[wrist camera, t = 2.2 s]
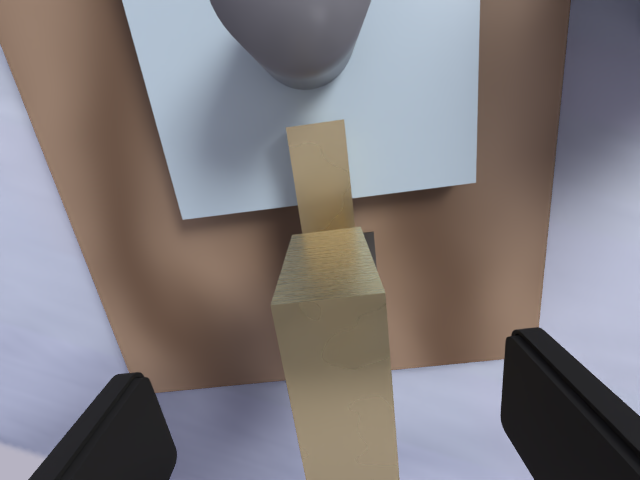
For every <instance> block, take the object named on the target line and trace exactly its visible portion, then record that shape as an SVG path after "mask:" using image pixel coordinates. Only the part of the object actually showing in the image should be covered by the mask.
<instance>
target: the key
mask: <svg viewBox="0 0 640 480" xmlns="http://www.w3.org/2000/svg"><path fill="white" fill-rule="evenodd" d="M286 132H287V139H288V145H289V152H290V158H291V165H292V171H293V177H294V184H295V190H296V197H297V203H298V209H299V216H300V222H301V229H302V234H296V235H292V237H291V240H290V243H289V247H288V250H287V253H286V256H285V260H284V263H283V266H282V269H281V273H280V276H279V279H278V282H277V286H276V289H275V292H274V296H273V299H272V302H271V305H270V306H271V311H272V315H273V320H274V325H275V330H276V335H277V340H278V345H279V350H280V355H281V359H282V364H283V369H284V374H285V379H286V384H287V389H288V394H289V399H290V404H291V408H292V413H293V418H294V423H295V428H296V433H297V438H298V443H299V448H300V452H301V457H302V462H303V467H304V472H305V477H306V480H399V468H398V454H397V441H396V428H395V414H394V401H393V387H392V374H391V361H390V347H389V334H388V320H387V307H386V294H385V290H384V288H383V285H382V282H381V280H380V277H379V274H378V272H377V269H376V266H375V264H374V261H373V258H372V256H371V253H370V250H369V247H368V245H367V242H366V239H365V237H364V234H363V231H362V229H361V227H355V222H354V212H353V202H352V192H351V182H350V172H349V162H348V152H347V142H346V132H345V123H344V119H342V120H335V121H328V122H321V123H314V124H307V125H299V126H292V127H286Z"/></svg>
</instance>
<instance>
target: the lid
mask: <svg viewBox="0 0 640 480" xmlns="http://www.w3.org/2000/svg"><path fill="white" fill-rule="evenodd" d="M122 2H123V6H124V9H125V13H126V17H127V20H128V24H129V27H130V31H131V35H132V38H133V42H134V45H135V49H136V53H137V56H138V60H139V64H140V67H141V71H142V74H143V78H144V82H145V85H146V89H147V93H148V96H149V100H150V103H151V107H152V111H153V114H154V118H155V122H156V125H157V129H158V132H159V136H160V140H161V143H162V147H163V150H164V154H165V158H166V161H167V165H168V169H169V172H170V176H171V179H172V183H173V187H174V190H175V194H176V198H177V201H178V205H179V208H180V212H181V216H182V219H183V220H185V219H193V218H201V217H209V216H217V215H225V214H233V213H241V212H249V211H256V210H264V209H272V208H280V207H288V206H296V205H298V203H297V197H296V190H295V184H294V177H293V171H292V165H291V158H290V152H289V145H288V139H287V132H286V127H292V126H299V125H307V124H314V123H321V122H328V121H335V120H342V119H344V123H345V132H346V142H347V152H348V162H349V172H350V182H351V192H352V198H359V197H367V196H375V195H383V194H391V193H399V192H407V191H414V190H422V189H430V188H438V187H446V186H454V185H462V184H470V183H476V159H477V114H478V70H479V26H480V0H122Z"/></svg>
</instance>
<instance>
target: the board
mask: <svg viewBox="0 0 640 480" xmlns="http://www.w3.org/2000/svg"><path fill="white" fill-rule="evenodd" d="M570 3H571V0H480V26H479V70H478V114H477V159H476V183H470V184H462V185H454V186H446V187H438V188H430V189H422V190H414V191H407V192H399V193H391V194H383V195H375V196H367V197H359V198H352V202H353V212H354V222H355V227H361V229H362V231H363V234H364V237H365V239H366V242H367V245H368V247H369V250H370V253H371V256H372V258H373V261H374V264H375V266H376V269H377V272H378V274H379V277H380V280H381V282H382V285H383V288H384V290H385V294H386V307H387V320H388V334H389V347H390V361H391V370H397V369H407V368H417V367H428V366H438V365H448V364H458V363H469V362H479V361H489V360H500V359H504V356H505V342H506V338H507V337H509V336H511V334H512V332H513V330H516V329H525V328H534V327H539V319H540V308H541V298H542V288H543V278H544V268H545V258H546V247H547V237H548V227H549V217H550V207H551V197H552V186H553V176H554V166H555V156H556V146H557V136H558V125H559V115H560V105H561V95H562V85H563V74H564V64H565V54H566V44H567V34H568V24H569V13H570ZM0 44H1V47H2V49H3V52H4V54H5V57H6V59H7V62H8V64H9V67H10V70H11V72H12V75H13V77H14V80H15V82H16V85H17V87H18V90H19V92H20V95H21V98H22V100H23V103H24V105H25V108H26V110H27V113H28V115H29V118H30V121H31V123H32V126H33V128H34V131H35V133H36V136H37V138H38V141H39V144H40V146H41V149H42V151H43V154H44V156H45V159H46V161H47V164H48V166H49V169H50V172H51V174H52V177H53V179H54V182H55V184H56V187H57V189H58V192H59V195H60V197H61V200H62V202H63V205H64V207H65V210H66V212H67V215H68V218H69V220H70V223H71V225H72V228H73V230H74V233H75V235H76V238H77V240H78V243H79V246H80V248H81V251H82V253H83V256H84V258H85V261H86V263H87V266H88V269H89V271H90V274H91V276H92V279H93V281H94V284H95V286H96V289H97V291H98V294H99V297H100V299H101V302H102V304H103V307H104V309H105V312H106V314H107V317H108V320H109V322H110V325H111V327H112V330H113V332H114V335H115V337H116V340H117V343H118V345H119V348H120V350H121V353H122V355H123V358H124V360H125V363H126V365H127V368H128V371H129V373H134V372H141V373H142V374H143V375H144V377H148V378H149V379H150V381H151V384H152V387H153V389H154V392H155V393H160V392H170V391H181V390H191V389H201V388H212V387H222V386H232V385H242V384H253V383H263V382H273V381H284V380H286V379H285V374H284V369H283V364H282V359H281V355H280V350H279V345H278V340H277V335H276V330H275V325H274V320H273V315H272V311H271V306H270V305H271V302H272V299H273V296H274V292H275V289H276V286H277V282H278V279H279V276H280V273H281V269H282V266H283V263H284V260H285V256H286V253H287V250H288V247H289V243H290V240H291V237H292V235H296V234H302V229H301V222H300V216H299V209H298V205H296V206H288V207H280V208H272V209H264V210H256V211H249V212H241V213H233V214H225V215H217V216H209V217H201V218H193V219H185V220H183V219H182V216H181V212H180V208H179V205H178V201H177V198H176V194H175V190H174V187H173V183H172V179H171V176H170V172H169V169H168V165H167V161H166V158H165V154H164V150H163V147H162V143H161V140H160V136H159V132H158V129H157V125H156V122H155V118H154V114H153V111H152V107H151V103H150V100H149V96H148V93H147V89H146V85H145V82H144V78H143V74H142V71H141V67H140V64H139V60H138V56H137V53H136V49H135V45H134V42H133V38H132V35H131V31H130V27H129V24H128V20H127V17H126V13H125V9H124V6H123V2H122V0H0Z"/></svg>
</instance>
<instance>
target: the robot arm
mask: <svg viewBox="0 0 640 480" xmlns="http://www.w3.org/2000/svg"><path fill="white" fill-rule="evenodd" d="M501 422H502V426H503V428H504V431H505V432H506V434H507V436H508V437H509V439H510V441H511V442H512V444H513V446H514V447H515V449H516V450H517V452H518V454H519V455H520V457H521V459H522V460H523V462H524V463H525V465H526V467H527V468H528V470H529V472H530V473H531V475H532V476H533V478H534V480H640V416H639V415H638V414H637V413H635V412H634V411H633V410H632V409H631V408H630V407H629V406H628V405H627V404H625V403H624V402H623V401H622V400H621V399H620V398H619V397H618V396H617V395H615V394H614V393H613V392H612V391H611V390H610V389H609V388H608V387H606V386H605V385H604V384H603V383H602V382H601V381H600V380H599V379H598V378H596V377H595V376H594V375H593V374H592V373H591V372H590V371H589V370H588V369H586V368H585V367H584V366H583V365H582V364H581V363H580V362H579V361H577V360H576V359H575V358H574V357H573V356H572V355H571V354H570V353H569V352H567V351H566V350H565V349H564V348H563V347H562V346H561V345H560V344H559V343H557V342H556V341H555V340H554V339H553V338H552V337H551V336H550V335H549V334H547V333H546V332H545V331H544V330H543V329H541V328H539V327H534V328H525V329H516V330H513V332H512V334H511V336H509V337H507V338H506V342H505V356H504V372H503V387H502V402H501ZM176 459H177V451H176V448H175V445H174V442H173V440H172V437H171V434H170V432H169V429H168V426H167V424H166V421H165V418H164V416H163V413H162V410H161V408H160V405H159V402H158V400H157V397H156V394H155V392H154V389H153V387H152V384H151V381H150V379H149V378H148V377H144V375H143V374H142V373H141V372H134V373H126V374H118V375H115V376H114V377H113V378H112V379H111V380H110V381H109V383H108V384H107V385H106V386H105V387H104V389H103V390H102V391H101V392H100V393H99V395H98V396H97V397H96V398H95V400H94V401H93V402H92V403H91V404H90V406H89V407H88V408H87V409H86V410H85V412H84V413H83V414H82V415H81V416H80V418H79V419H78V420H77V421H76V423H75V424H74V425H73V426H72V427H71V429H70V430H69V431H68V432H67V433H66V435H65V436H64V437H63V438H62V440H61V441H60V442H59V443H58V444H57V446H56V447H55V448H54V449H53V450H52V452H51V453H50V454H49V455H48V457H47V458H46V459H45V460H44V461H43V463H42V464H41V465H40V466H39V467H38V469H37V470H36V471H35V472H34V473H33V475H32V476H31V477H30V478H29V480H169V478H170V476H171V474H172V471H173V469H174V467H175V464H176Z"/></svg>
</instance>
